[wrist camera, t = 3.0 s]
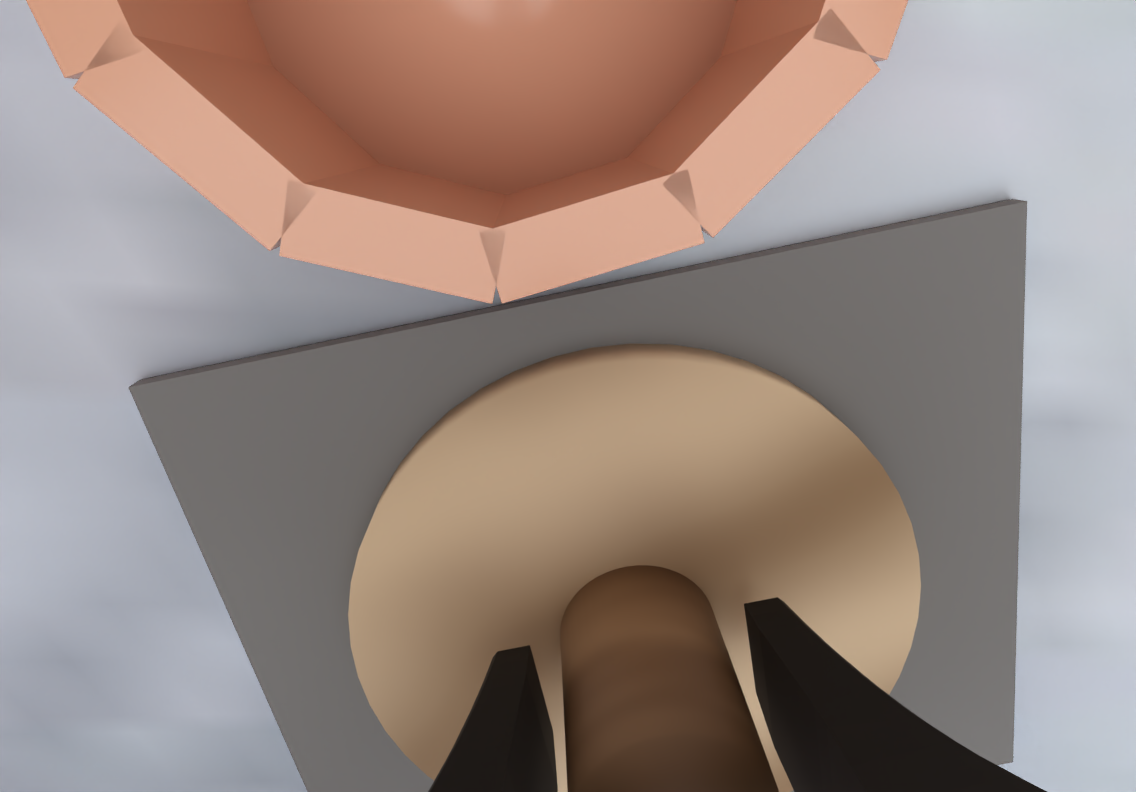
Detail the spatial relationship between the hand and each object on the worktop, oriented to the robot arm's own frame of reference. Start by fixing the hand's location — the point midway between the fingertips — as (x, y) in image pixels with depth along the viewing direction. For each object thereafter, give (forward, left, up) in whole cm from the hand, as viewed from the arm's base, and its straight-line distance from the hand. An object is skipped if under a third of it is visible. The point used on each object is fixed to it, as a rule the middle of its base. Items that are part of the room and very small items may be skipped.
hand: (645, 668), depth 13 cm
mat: (0, 0, -2) cm, 2 cm away
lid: (0, 0, -2) cm, 2 cm away
